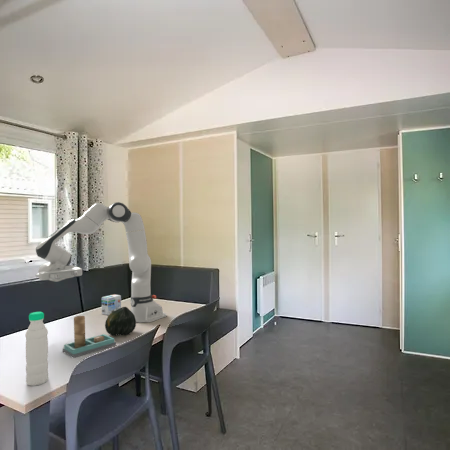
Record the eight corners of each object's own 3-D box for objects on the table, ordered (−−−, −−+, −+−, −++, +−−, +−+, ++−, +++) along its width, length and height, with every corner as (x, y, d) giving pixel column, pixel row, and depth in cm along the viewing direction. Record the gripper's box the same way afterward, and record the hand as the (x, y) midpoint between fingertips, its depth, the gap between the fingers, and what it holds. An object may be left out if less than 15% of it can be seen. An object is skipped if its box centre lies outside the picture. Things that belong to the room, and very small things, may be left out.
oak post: (82, 345, 153) (82, 315, 153) (87, 347, 150) (86, 316, 150) (72, 348, 150) (72, 317, 150) (77, 350, 147) (76, 319, 147)
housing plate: (104, 339, 165) (104, 332, 165) (116, 344, 157) (115, 337, 157) (62, 351, 150) (62, 343, 150) (73, 357, 142) (72, 349, 142)
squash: (100, 321, 176) (107, 303, 169) (127, 317, 185) (135, 300, 178) (106, 345, 168) (113, 327, 160) (135, 340, 177) (143, 323, 169)
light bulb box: (108, 315, 209) (107, 298, 209) (101, 314, 213) (100, 297, 213) (121, 311, 218) (121, 295, 218) (114, 310, 222) (114, 294, 222)
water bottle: (53, 379, 123) (52, 311, 123) (36, 387, 116) (35, 316, 116) (38, 376, 125) (37, 309, 125) (21, 385, 119) (20, 314, 119)
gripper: (34, 268, 167) (44, 271, 157) (75, 264, 182) (87, 266, 172) (34, 281, 167) (44, 284, 157) (75, 276, 182) (87, 279, 172)
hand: (67, 275), depth 165 cm, fingers open, 8 cm apart
